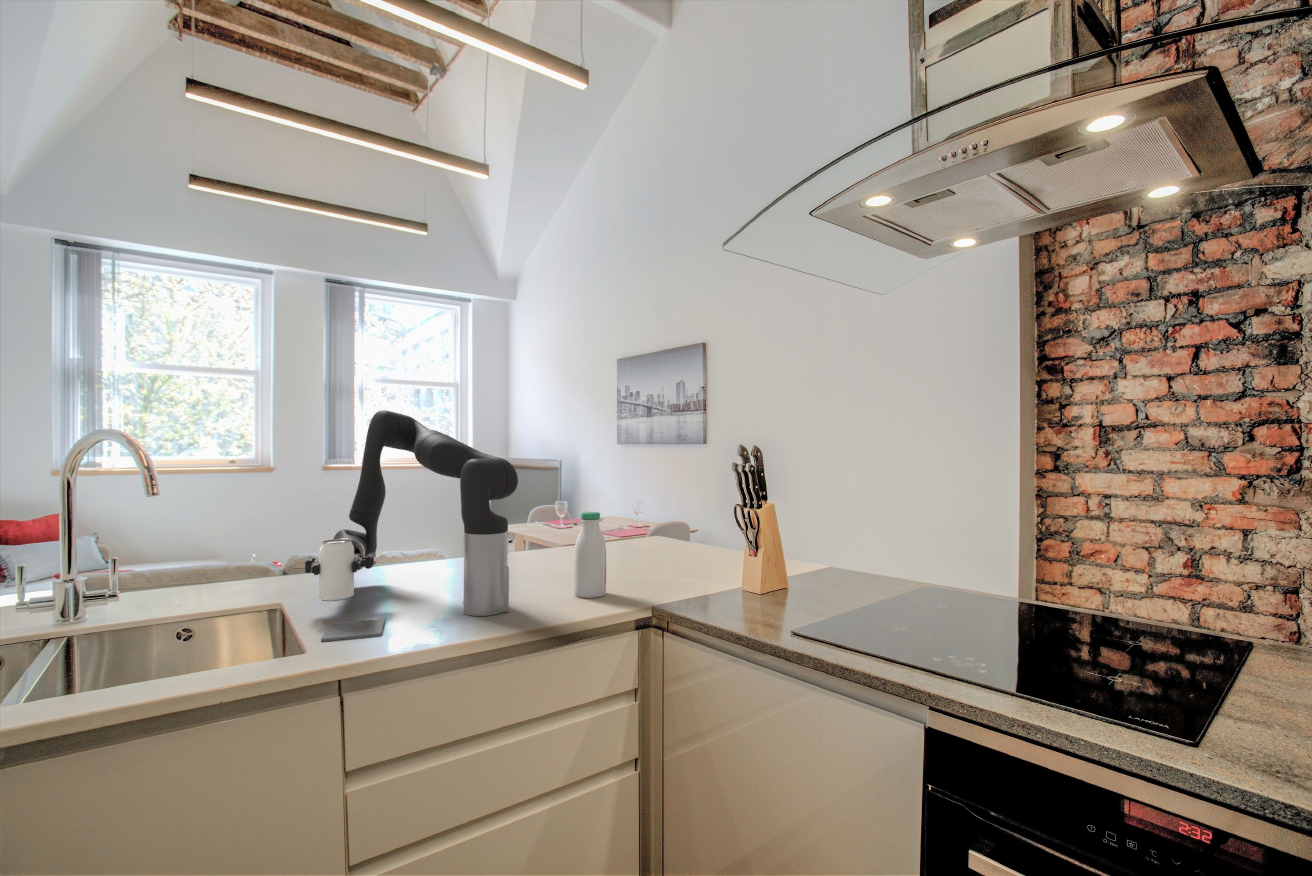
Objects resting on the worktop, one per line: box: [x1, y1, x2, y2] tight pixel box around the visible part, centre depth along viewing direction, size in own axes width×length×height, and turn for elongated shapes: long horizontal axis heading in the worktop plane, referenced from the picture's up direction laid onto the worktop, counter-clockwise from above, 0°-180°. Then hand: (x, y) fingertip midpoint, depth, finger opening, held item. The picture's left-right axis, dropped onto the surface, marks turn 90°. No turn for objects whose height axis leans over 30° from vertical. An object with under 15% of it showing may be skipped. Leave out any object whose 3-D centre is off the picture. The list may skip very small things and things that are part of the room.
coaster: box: [320, 618, 386, 643], centre depth 115 cm, size 10×10×1 cm
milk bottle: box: [573, 511, 607, 599], centre depth 144 cm, size 8×8×20 cm
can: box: [318, 539, 355, 602], centre depth 125 cm, size 6×6×12 cm
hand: (335, 568), depth 123 cm, fingers closed on can, 6 cm apart
